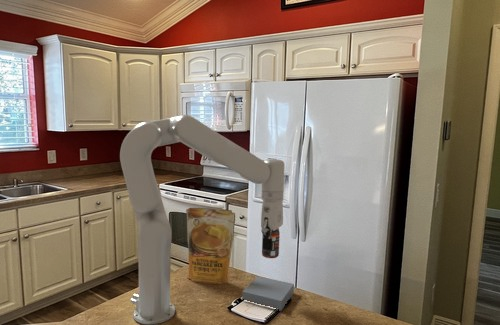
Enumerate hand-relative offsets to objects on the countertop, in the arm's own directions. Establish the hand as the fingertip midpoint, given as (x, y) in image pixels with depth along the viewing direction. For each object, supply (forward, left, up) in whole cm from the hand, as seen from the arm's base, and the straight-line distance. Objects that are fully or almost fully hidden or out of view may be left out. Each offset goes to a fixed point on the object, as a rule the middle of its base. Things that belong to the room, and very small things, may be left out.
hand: (270, 245), depth 117 cm
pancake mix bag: (-26, +2, -19) cm, 32 cm away
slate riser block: (0, 0, -19) cm, 19 cm away
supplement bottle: (0, 0, -4) cm, 4 cm away
